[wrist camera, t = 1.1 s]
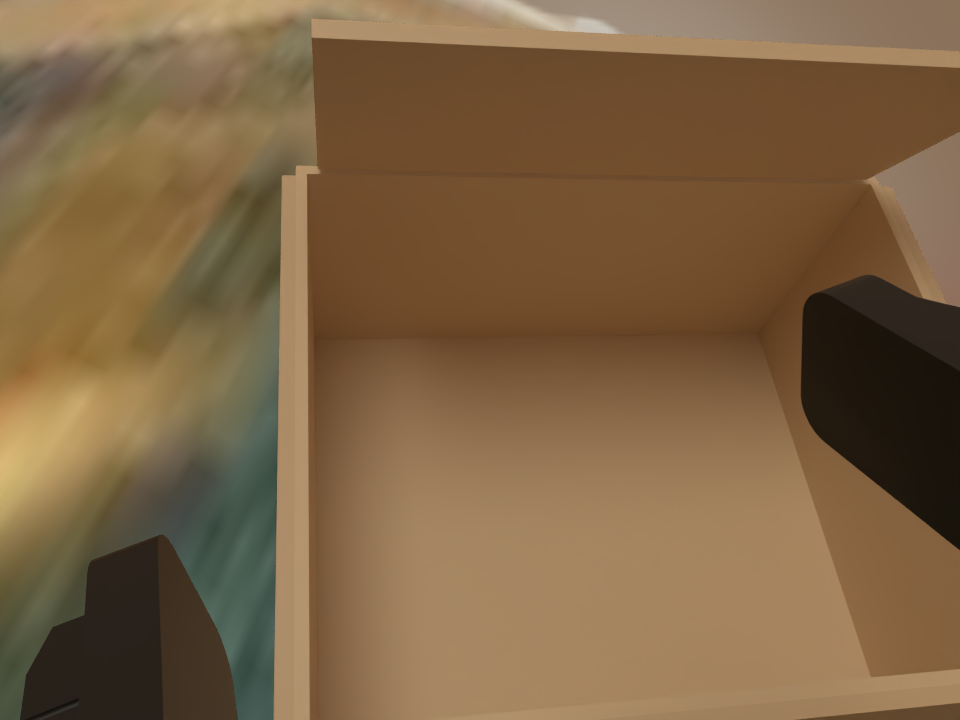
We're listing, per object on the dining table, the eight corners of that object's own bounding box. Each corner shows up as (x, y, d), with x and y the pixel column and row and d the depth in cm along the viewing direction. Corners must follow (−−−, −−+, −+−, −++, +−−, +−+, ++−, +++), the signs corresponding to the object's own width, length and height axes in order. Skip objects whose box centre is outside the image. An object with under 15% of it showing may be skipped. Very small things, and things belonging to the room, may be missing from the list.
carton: (294, 808, 31) (272, 773, 21) (296, 340, 42) (282, 165, 31) (903, 741, 35) (1128, 685, 25) (766, 332, 46) (886, 177, 36)
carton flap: (311, 37, 21) (311, 15, 21) (317, 169, 31) (317, 153, 31) (1072, 72, 25) (1070, 54, 25) (866, 179, 35) (864, 166, 35)
